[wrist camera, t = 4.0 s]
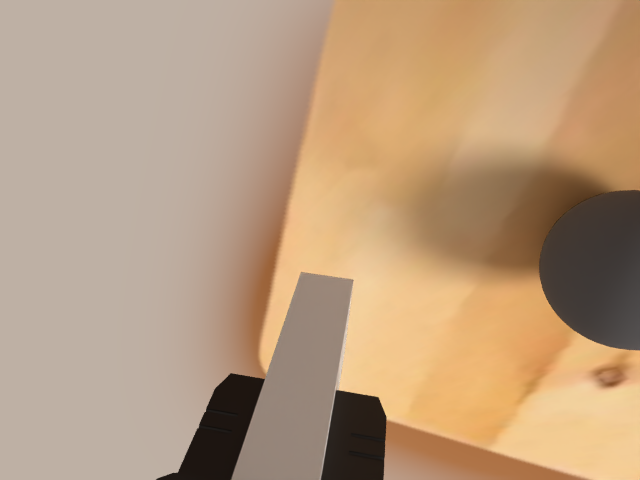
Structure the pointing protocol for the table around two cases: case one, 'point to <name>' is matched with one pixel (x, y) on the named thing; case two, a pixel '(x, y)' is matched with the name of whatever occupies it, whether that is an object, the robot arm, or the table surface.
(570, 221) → the dark gray ball
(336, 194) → the table surface
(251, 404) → the robot arm
